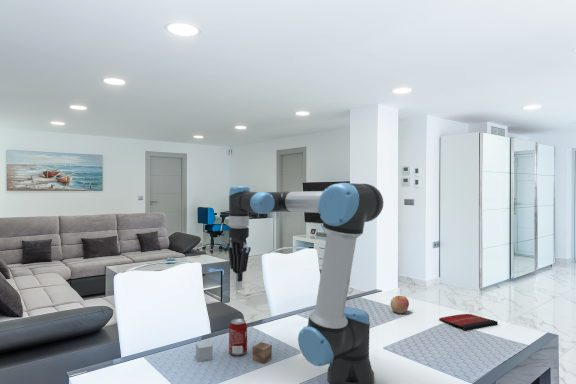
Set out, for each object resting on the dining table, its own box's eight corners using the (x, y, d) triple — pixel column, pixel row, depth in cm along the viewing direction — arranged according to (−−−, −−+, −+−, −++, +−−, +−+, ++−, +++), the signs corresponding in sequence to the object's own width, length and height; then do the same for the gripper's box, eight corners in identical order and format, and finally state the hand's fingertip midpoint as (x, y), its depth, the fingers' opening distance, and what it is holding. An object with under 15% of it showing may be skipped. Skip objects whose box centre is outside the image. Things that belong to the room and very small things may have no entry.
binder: (497, 321, 179) (464, 327, 170) (497, 326, 178) (464, 332, 170) (469, 312, 193) (436, 317, 185) (469, 316, 193) (437, 322, 185)
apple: (410, 311, 196) (410, 295, 196) (405, 316, 189) (405, 300, 189) (393, 308, 201) (393, 293, 201) (388, 313, 194) (388, 297, 193)
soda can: (243, 357, 142) (244, 324, 142) (226, 355, 144) (226, 323, 143) (249, 349, 149) (249, 318, 149) (232, 348, 150) (232, 317, 150)
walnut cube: (271, 358, 142) (271, 344, 142) (263, 363, 138) (264, 349, 137) (260, 355, 144) (260, 341, 144) (252, 360, 140) (252, 346, 140)
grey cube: (212, 359, 140) (212, 345, 140) (198, 362, 138) (198, 348, 138) (209, 354, 145) (209, 340, 145) (195, 356, 143) (195, 343, 143)
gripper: (257, 228, 143) (256, 291, 143) (238, 224, 153) (237, 284, 153) (239, 229, 138) (238, 295, 139) (221, 225, 148) (220, 287, 149)
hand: (237, 289), depth 146 cm, fingers closed
